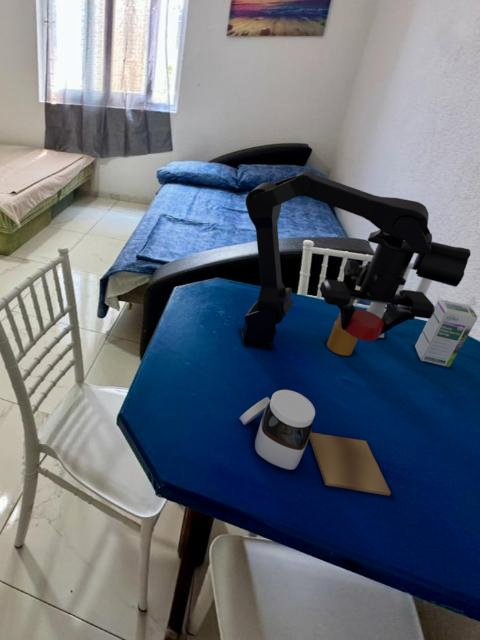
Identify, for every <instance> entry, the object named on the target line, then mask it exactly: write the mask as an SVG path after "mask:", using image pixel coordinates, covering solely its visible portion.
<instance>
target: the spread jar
mask: <svg viewBox="0 0 480 640" xmlns="http://www.w3.org/2000/svg"><path fill="white" fill-rule="evenodd" d="M261 414H262V417H261V420H260V423H259V426H258V429H257V432H256V436H255V439H254V440H255V441H254V450H255V452H256V454H257V455H258V456H259V457H260V458H261V459H262V460H263V461H265V462H267V463H268V464H270V465H271V466H274V467H275V468H278V469H281V470H285V471H292V470H295V469H296V468H297V467H298V466H299V463H300V461H301V459H302V457H303V455H304V452H305V450H306V448H307V445H308V442H309V441H310V439H309V437H310V434H311V433H312V430H313V421H314V418H315V416H316V409H315V406H314V405H313V403H312V402H311V401H310V400H309V399H308V398H307V397H306V396H304V395H303V394H301V393H299V392H296V391H294V390H290V389H280V390H277V391H275V392H273V394H272V396H271V399H270V398H269V396H266V397H265V398H262V399H261V400H259V401H258V402H257V403H255V404H254V405H252V406H251V407H250V408H249V409H247V410H246V411H245V412H243V414H241V416H240V417H239V418H238V419H239V420H240V421H241V423H242V424H243V425H245V426H246V425H247V424H249V423H250V422H252V421H254V420H255V419H256V418H257V417H259V416H260V415H261Z"/></svg>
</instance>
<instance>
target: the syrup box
mask: <svg viewBox="0 0 480 640" xmlns="http://www.w3.org/2000/svg"><path fill="white" fill-rule="evenodd" d="M434 307H435V311H434V313H433V315H432V317H431V318H430V319H427V321H426V324H425V325H424V327H423V330H422V331H421V333H420V335H419V337H418V339H417V341H416V343H415V345H414V347H415V350H416V352H417V355H418V357H419V359H420V361H421V362H427V363H431V364H435V365H439V366H443V367H446V368H450V367H451V366H452V364H453V363H454V361H455V359H456V357H457V355H458V354H459V352H460V350H461V348H462V346H463V345H464V343H465V341H466V340H467V338H468V336H469V334H470V333H471V331H472V329H473V327H474V325H475V323H476V322H477V320H478V315H477V314H476V312H475V310H474V309H473V308H472V307H471V306H470V305H469V303H462V302H455V301H450V300H444V299H441V298H438V299H437V301H436V303H435V305H434Z"/></svg>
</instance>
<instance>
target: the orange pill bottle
mask: <svg viewBox="0 0 480 640" xmlns="http://www.w3.org/2000/svg"><path fill="white" fill-rule="evenodd" d="M358 341H359V339H358V338H356V337H353V336H352V335H350V334H349V333H347V332H346V331H345V330H342V327H341V313H340V312H339V314H338V316H337V318H336V320H335V321H334V324H333V326H332V329H331V332H330V334H329V337H328V339H327V342H326V347H327V348H328V349H329V350H330V351H331V352H333V353H335V354H337V355H340V356H351V355H352V354H353V353H354V350H355V347H356V345H357V343H358Z"/></svg>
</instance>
